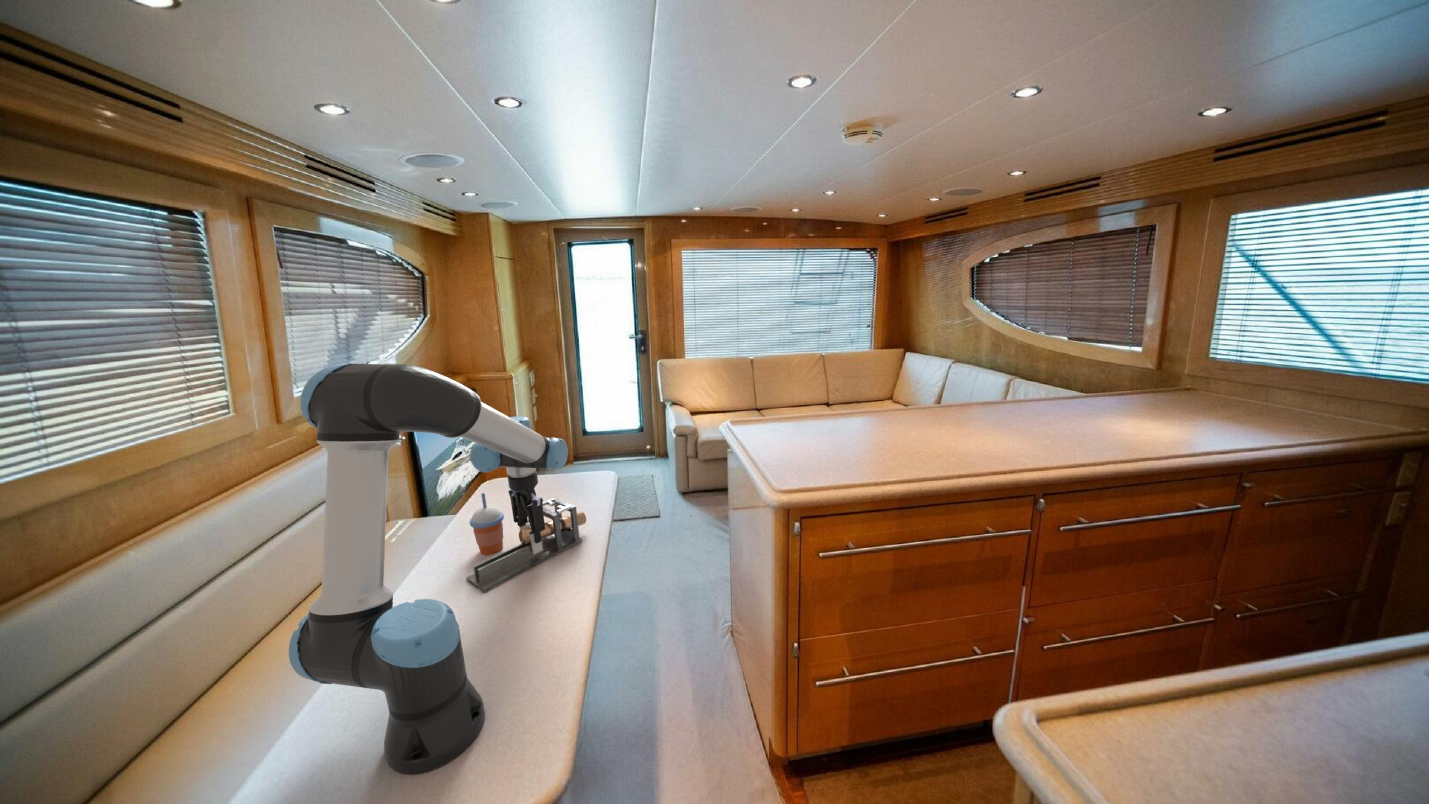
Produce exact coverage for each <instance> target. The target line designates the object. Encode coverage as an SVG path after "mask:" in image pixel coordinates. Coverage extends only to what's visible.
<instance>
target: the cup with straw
mask: <svg viewBox="0 0 1429 804" xmlns="http://www.w3.org/2000/svg"><path fill="white" fill-rule="evenodd" d="M485 493H486V492H483V493H481V494H480V495H481V502H482V507H479V508H477V509H476V510H475V511H474V513H473V515H472V516H471V518H470V519H469V525H470V527H471V528H473V534H474V538H475V542H476V545H477V546H478V549H479V552H480V555H482V556H492V555H495V554H496V555H497V554H498V553H499V552H501V551H502V550H503V548H504V542H503V541H504V540H503V539H504V524H503V520H504V518H505V515H504V513H503V511H501V510H499V509H498V508H497V507H496V506H493V505H487V500H486V495H485Z"/></svg>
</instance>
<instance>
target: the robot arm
mask: <svg viewBox="0 0 1429 804" xmlns="http://www.w3.org/2000/svg"><path fill="white" fill-rule="evenodd" d="M299 404H300V405H299V406H300V412H301V414H302V417H303V418H305V419H306V420H307V423H308V424H309V425H310V426H312V427H313V428H314V429H316V444H319V445H320V446H321V447H322V448H323V449H324V450H325V451H326V452H327V457H326V458H327V460H326V461H327V462H326V481H325V482H326V483H325V505H324V506H325V507H324V526H323V529H324V530H323V548H322V549H323V550H322V552H323V553H322V555H323V556H322V572H321V573H322V575H321V593H320V595H319V597H317V598H316V599H315V600H314V601H312V603H311V604H310V605H309V607H308V608H309V609H308V613H307V614H305V616H304V617H303V618H302V619H301V620H300V621H299V623H298V624H297V626H299V627H298V628H297V629H296V630H294V631H293V632H292V635H291V637H290V640H289V643H288V659H289V663H290V665H291V668H292V669H293V671H294V672H295V673H296V674H297V675H298V676H300V677H302V678H304V679H306V680H311V681H313V682H317V683H319V684H323V685H333V684H334V685H340V686H349V687H355V688H363V689H369V690H370V689H371V690H378V691H382V692H383V693H384V695H385V699H386V703H387V708H388V713H389V714H388V720H387V725H386V729H385V730H386V731H385V736H384V741H383V750H384V755H385V758H386V759H385V760H386V762H387V764H388V766H389V767H390V768H391V769H392V770H394V771H395V772H397V773H399V774H405V775H418V774H422V773H423V774H424V773H427V772H431V771H433V770H435V769H438V768H440V767H442V766H444V765H446V764H448V763H449V762H451V761H453V760H454V759H456V758H457V757H458V756H460V755H461V754H462V753H463V752H465V751H466V748H467V749H468V748H469V747H470V746H471V745H472V743H474V741H475V740H476V739H477V737H478V736H479V734H480V732H481V730H482V728H483V727H484V725H485V724H484V723H485V719H486V712H485V705H484V700H483V698H482V696H481V694H480V693H479V692H478V690H477V689H476V688H475V686H474V685H473V683H471V681H470V680H469V678H468V676H467V669H466V663H465V657H464V651H463V643H462V640H461V630H460V625H459V623H458V621H457V619H456V616H455V613H454V611H453V609H452V607H450V606H449V605H448V604H447V603H444V602H443V601H440V600H437V599H432V598H431V599H430V598H423V599H422V598H421V599H415V600H414V601H413V602H409V601H407V602H403V603H400V604H398V605H395V606H393V605H394V604H393V603H394V601H393V600H394V592H393V591H392V590H391V589H390V588H388V587H387V586H385V584H384V580H385V576H384V574H385V556H386V555H385V552H386V527H387V526H386V524H387V503H388V502H387V501H388V499H387V497H388V478H389V477H388V475H389V452H390V450H391V449H392V448H393V447H394V446H395V445H397V444H398V443H399V442H400V432H404V433H406V432H408V433H411V432H414V433H415V432H416V433H429V434H436V435H440V436H442V437H445V438H450V439H454V438H459V437H461V438H462V439H465V440H468V441H471V442H472V443H475V445H474V446H472V448H471V450H470V452H469V459H470V462H471V464H472V466H473V468H475V469H476V470H477V471H479V472H481V473H490V472H492V471H495V470H497V469H499V468H505V469H506V475H507V482H508V488H509V490H508V494H509V498H510V504H511V511H512V517H513V522H514V523H515V524H516V523H517V526H518V527H519V532H520V531H521V530H524V529H527V528H530V527H531V532H529V534H530V538H531V545H532V553H533V554H536V553H538V552H540V551H542V550H543V549H542V541H541V533H540V532H541V531H543V530H545V523H546V522H545V516H544V515H543V507H544V506H542V505H543V502H544V499H543V497H539V498H538V496H537V493H536V490H535V488H536V486H537V485H538V483H539V480H538V471H536V470H537V469H545V470H546V469H547V470H553V469H554V470H556V469H557V470H558V469H561V468H563V466H565V464H566V462H567V460H568V455H569V449H568V445H567V443H566V440H564V439H562V438H557V437H553V436H552V437H546V436H544V435H542V434H540V433H538V432H536V431H535V430H533V429H532V424H531V421H530V418H528V417H526V416H508V415H506V414H505V413H503V412H500V411H499V410H497V409H495V408H493V407H491V406H490V405H487V403H484V402H482V399H481V398H480V396H479V395H478V394H477V393H476V391H474V390H472V389H471V388H469V387H467V386H465V385H463V384H462V383H460V382H457V381H455V380H453V379H451V378H450V377H447V376H445V375H443V374H441V373H438V372H436V371H433V370H431V369H429V368H425V367H422V366H418V365H413V364H409V363H408V364H407V363H395V364H393V363H391V364H387V363H386V364H385V363H381V364H380V363H347V364H338V365H336V364H335V365H331V366H326V367H325V368H322V369H321V370H319V371H317V372H316V373H315V374H314V375H311V377H310V378H309V379H308V380H307V382H306V383H305V385H304V387H303V389H302V391H301V395H300V399H299ZM544 522H545V523H544ZM455 757H456V758H455Z"/></svg>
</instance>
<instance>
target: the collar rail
mask: <svg viewBox="0 0 1429 804" xmlns="http://www.w3.org/2000/svg"><path fill="white" fill-rule="evenodd" d="M542 506H543V515H544V518H548V519H550V520H551V521H552V520H553V527H554V535H551V536H548V537H545V538H542V539H541V541H542V549H543V550H542V551H540V552H538V553H536V554H533V553H532V545H531V542H530V543H527V544H522V543H520V544H518V545H515V546H514V547H511V548H509V549H507V550H505V551H503V552H501V553H499V554H498V553H497V554H496V555H495V556H492V557H490V558H488V559H486V560H484V561H481V562H479V563H478V564H476V565H473V567H472V568H473V572H474V573H472V574H471V575H468V576H466V577H465V578H466V582H468V583H469V584H471V585H472V586H473V587H474V588H476V590H477V589H478V590H479V591H480V592H481V593H484V594H485V593H486V592H488V591H490V590H492V589H494V588H496V587H498V586H500V585H501V584H504V583H505V582H508V581H510V580H511V579H513V578H516V577H517V576H519V575H521V574H523V573H525V572H527V571H529V570H531V569H533V568H534V567H536V566H538V565H540V564H542V563H544V562H546V561H548V560H550V559H551V558H553V557H555V556H557V555H560V554H562V553H563V552H565V551H567V550H569V549H571V548H572V547H576V545H579V544H580V543H582V542H583V539H582V538H581V537H580V530H579V526H578V519H577V513H578V512H577V506H576V505H574V504H572V503H569V502H566V501H565V500H562V499H559V498H556V499H555V497H554V498H550V499H547V500H545V501H543V505H542ZM544 506H550V507H553V506H554V510H551V509H548V508H546V507H544ZM566 511H567V512H570V513H569V515H571V523H572V528H571V529H568V530H565V531H564V532H561V530H560V521H559V518H562V517H563V515H562V513H564V512H566ZM544 523H546V522H545V521H544Z"/></svg>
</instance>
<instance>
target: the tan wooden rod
mask: <svg viewBox="0 0 1429 804" xmlns="http://www.w3.org/2000/svg"><path fill="white" fill-rule="evenodd" d="M577 519H578V527H580V526H583V525H585V524H586V523H587V517H586V513H585V512H584V511H578V512H577ZM559 521H560V530H561V532H564V531H565V530H568V529H572V523H571V514H569V515H565V516H562V518H559ZM529 532H531V527H530V528H527V529H524V530H521V531H520V530H519V532H518V539H519V542H520V544H527V543H530V542H531V538H530V534H529ZM540 533H541V539H542V538H545V537H548V536H553V535H554V527H553V520H552V519H551V520H550V521H546V522H545V530H543V531H541V532H540Z"/></svg>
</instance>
